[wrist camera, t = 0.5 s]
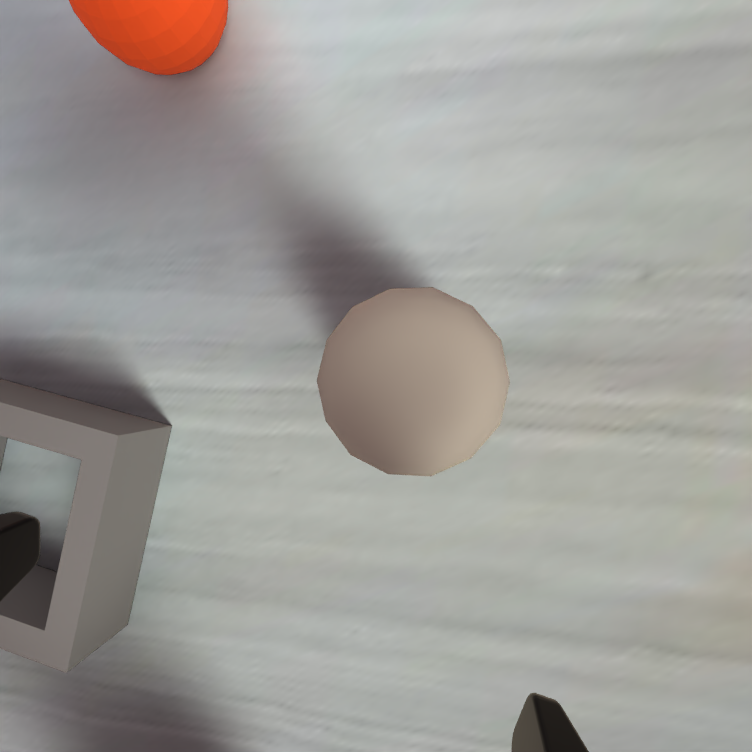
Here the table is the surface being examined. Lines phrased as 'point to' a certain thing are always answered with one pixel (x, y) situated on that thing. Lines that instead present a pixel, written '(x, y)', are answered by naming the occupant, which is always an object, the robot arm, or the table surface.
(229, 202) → the table surface
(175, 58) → the clementine
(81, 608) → the well block
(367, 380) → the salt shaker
